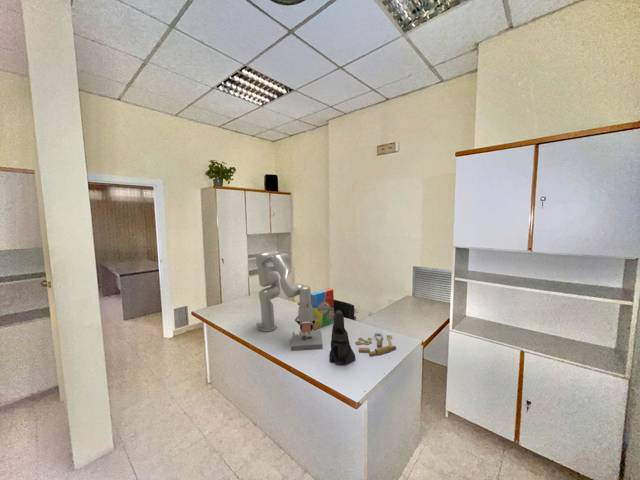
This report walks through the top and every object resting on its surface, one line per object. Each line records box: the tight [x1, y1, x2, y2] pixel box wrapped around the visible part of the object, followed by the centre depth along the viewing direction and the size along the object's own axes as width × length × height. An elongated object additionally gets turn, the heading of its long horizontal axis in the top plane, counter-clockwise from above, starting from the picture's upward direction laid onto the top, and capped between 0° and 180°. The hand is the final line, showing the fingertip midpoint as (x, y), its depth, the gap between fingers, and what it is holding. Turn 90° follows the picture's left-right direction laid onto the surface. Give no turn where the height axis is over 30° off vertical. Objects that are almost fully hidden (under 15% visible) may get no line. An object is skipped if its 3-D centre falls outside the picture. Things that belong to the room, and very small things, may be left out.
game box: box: [310, 287, 335, 331], centre depth 197 cm, size 21×6×27 cm, turn 129°
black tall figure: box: [328, 309, 357, 366], centre depth 149 cm, size 14×14×30 cm
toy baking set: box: [354, 332, 397, 356], centre depth 167 cm, size 33×25×4 cm
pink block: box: [302, 322, 311, 336], centre depth 172 cm, size 6×6×7 cm
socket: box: [290, 329, 324, 351], centre depth 173 cm, size 20×20×4 cm
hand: (306, 329), depth 172 cm, fingers closed on pink block, 6 cm apart
